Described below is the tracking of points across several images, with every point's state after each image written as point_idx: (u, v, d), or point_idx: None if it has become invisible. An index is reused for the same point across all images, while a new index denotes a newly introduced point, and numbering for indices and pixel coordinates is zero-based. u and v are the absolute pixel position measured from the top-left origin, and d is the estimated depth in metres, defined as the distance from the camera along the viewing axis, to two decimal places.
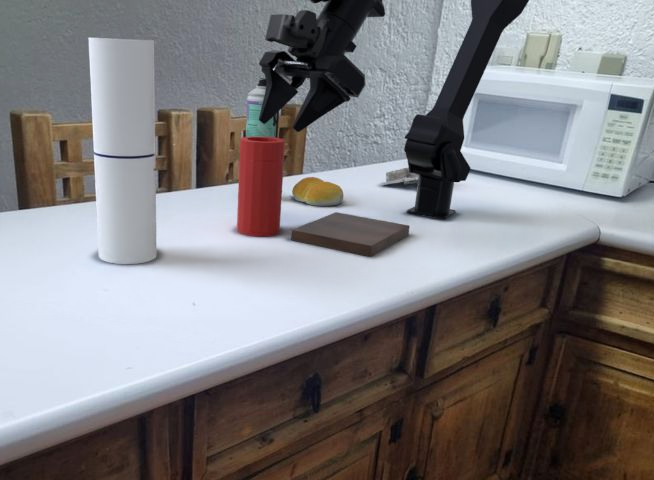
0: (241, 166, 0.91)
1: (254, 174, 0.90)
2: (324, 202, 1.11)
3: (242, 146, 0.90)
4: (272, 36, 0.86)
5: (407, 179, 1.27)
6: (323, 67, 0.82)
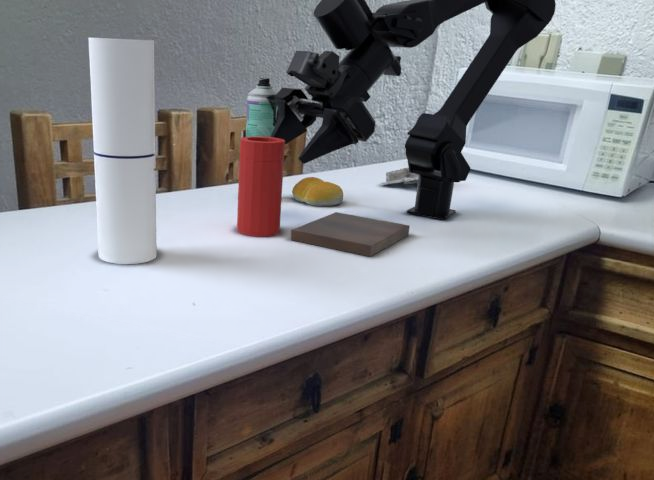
0: (241, 166, 0.91)
1: (254, 174, 0.90)
2: (324, 202, 1.11)
3: (242, 146, 0.90)
4: (294, 70, 0.89)
5: (407, 179, 1.27)
6: (338, 106, 0.85)
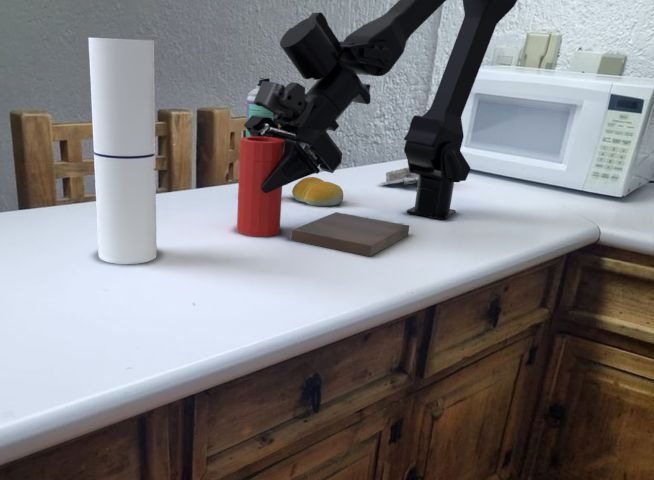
0: (241, 166, 0.91)
1: (254, 174, 0.90)
2: (324, 202, 1.11)
3: (242, 146, 0.90)
4: (260, 101, 0.88)
5: (407, 179, 1.27)
6: (304, 139, 0.85)
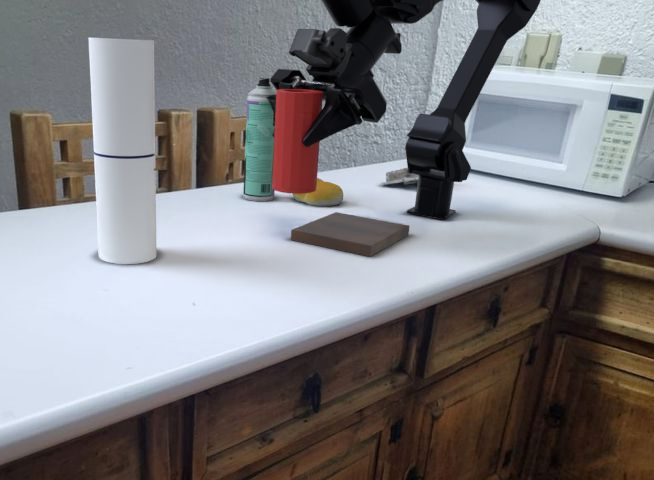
0: (279, 119, 0.86)
1: (294, 127, 0.86)
2: (324, 202, 1.11)
3: (280, 98, 0.85)
4: (298, 49, 0.84)
5: (407, 179, 1.27)
6: (351, 86, 0.81)
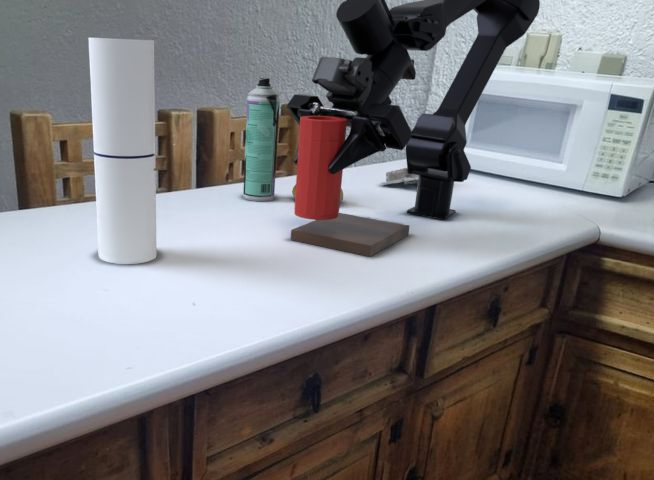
0: (304, 147, 0.87)
1: (321, 155, 0.86)
2: None
3: (306, 126, 0.86)
4: (324, 78, 0.85)
5: (407, 179, 1.27)
6: (379, 115, 0.82)
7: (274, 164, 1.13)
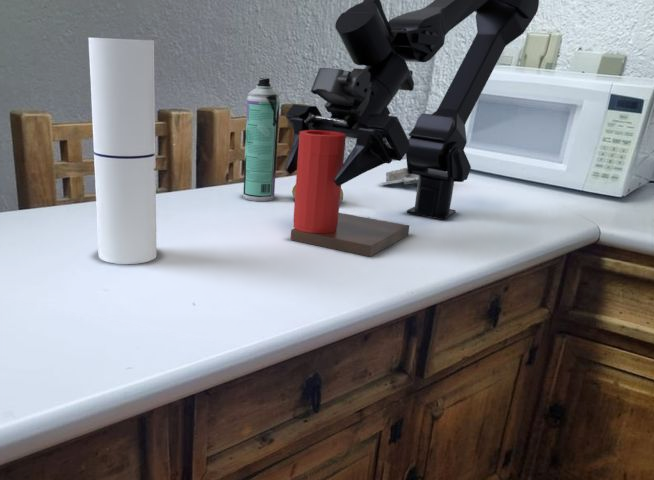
0: (303, 161, 0.87)
1: (319, 169, 0.87)
2: None
3: (305, 140, 0.86)
4: (322, 88, 0.85)
5: (407, 179, 1.27)
6: (377, 126, 0.83)
7: (274, 164, 1.13)
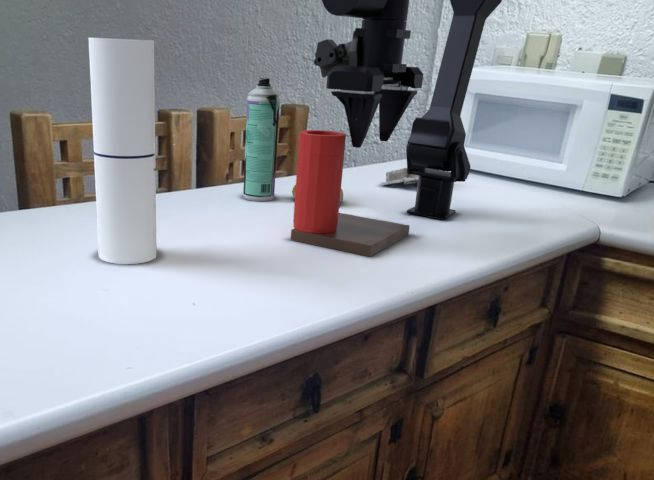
0: (303, 161, 0.87)
1: (319, 169, 0.87)
2: None
3: (305, 140, 0.86)
4: None
5: (407, 179, 1.27)
6: None
7: (274, 164, 1.13)
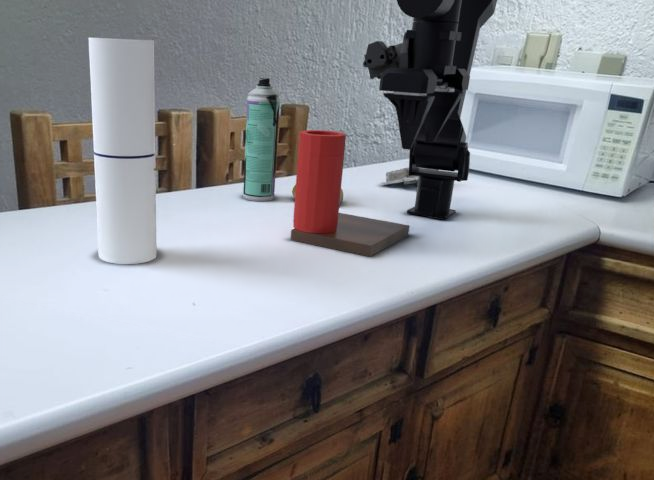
0: (303, 161, 0.87)
1: (319, 169, 0.87)
2: None
3: (305, 140, 0.86)
4: None
5: (407, 179, 1.27)
6: None
7: (274, 164, 1.13)
